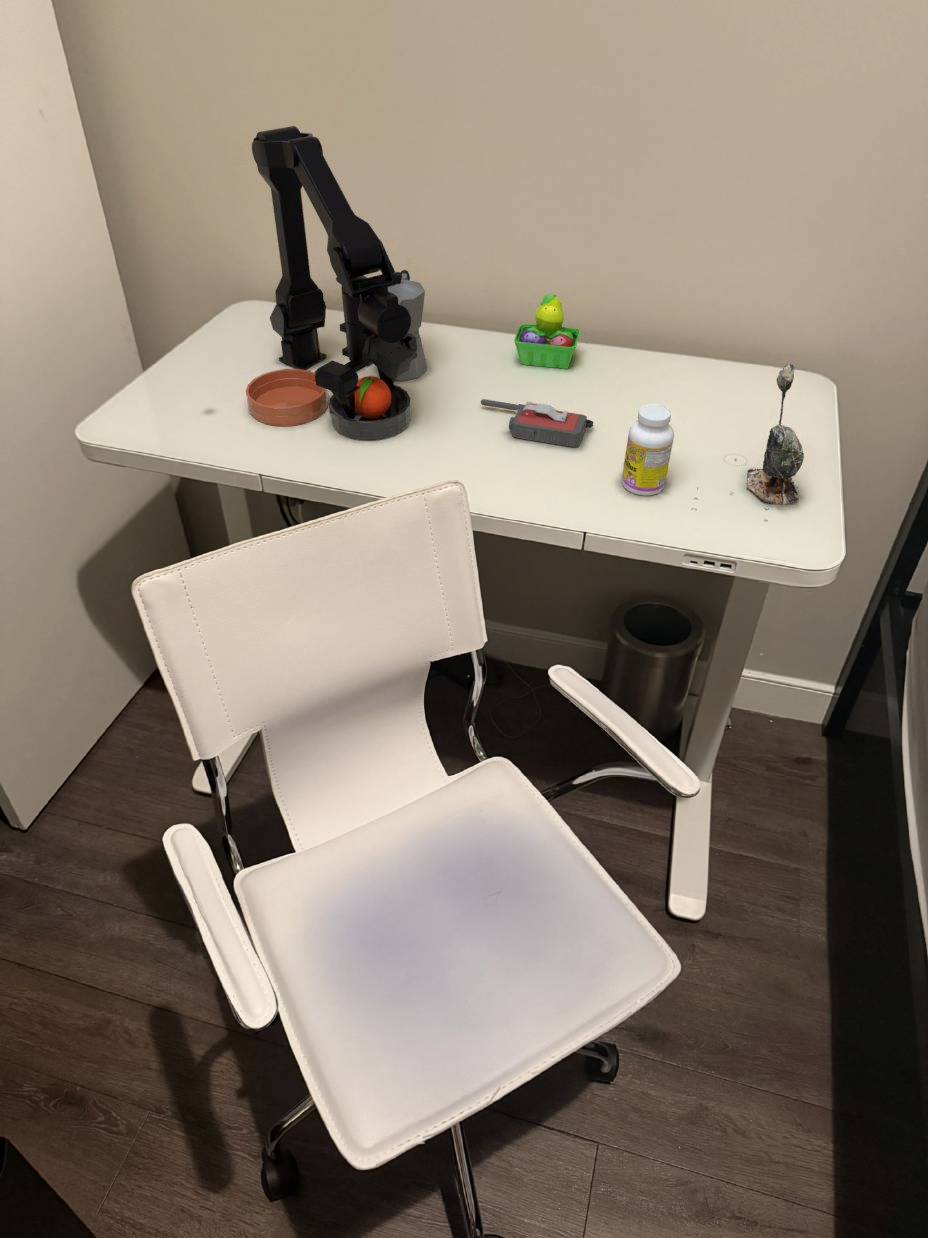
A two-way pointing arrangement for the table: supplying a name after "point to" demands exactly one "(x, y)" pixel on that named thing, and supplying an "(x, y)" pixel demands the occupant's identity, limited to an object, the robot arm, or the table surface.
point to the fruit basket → (547, 337)
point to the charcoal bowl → (377, 427)
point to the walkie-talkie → (544, 423)
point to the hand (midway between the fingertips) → (370, 406)
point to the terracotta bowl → (286, 397)
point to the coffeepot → (413, 301)
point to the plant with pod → (779, 457)
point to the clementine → (372, 397)
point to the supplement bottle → (648, 450)
